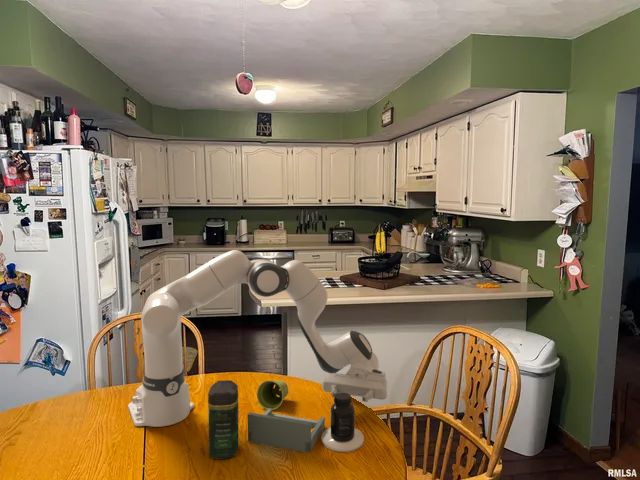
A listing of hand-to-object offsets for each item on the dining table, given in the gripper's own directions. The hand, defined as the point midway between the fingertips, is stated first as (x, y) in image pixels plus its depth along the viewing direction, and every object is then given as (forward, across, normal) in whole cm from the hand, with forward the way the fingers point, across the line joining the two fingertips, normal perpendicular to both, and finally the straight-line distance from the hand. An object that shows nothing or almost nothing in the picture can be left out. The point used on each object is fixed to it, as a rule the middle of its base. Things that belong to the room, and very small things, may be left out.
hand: (349, 397), depth 131 cm
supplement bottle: (+6, 0, +9) cm, 11 cm away
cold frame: (+8, -16, +10) cm, 21 cm away
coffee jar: (+22, -30, +10) cm, 38 cm away
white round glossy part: (+6, 0, +10) cm, 12 cm away
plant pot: (-12, -27, +7) cm, 31 cm away
